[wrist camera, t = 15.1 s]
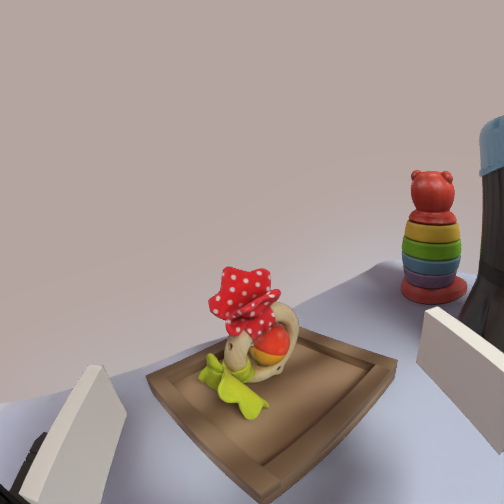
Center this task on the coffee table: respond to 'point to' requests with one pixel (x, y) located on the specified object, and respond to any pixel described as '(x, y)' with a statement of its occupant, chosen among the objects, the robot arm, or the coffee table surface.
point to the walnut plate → (277, 410)
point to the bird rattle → (249, 337)
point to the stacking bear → (432, 242)
